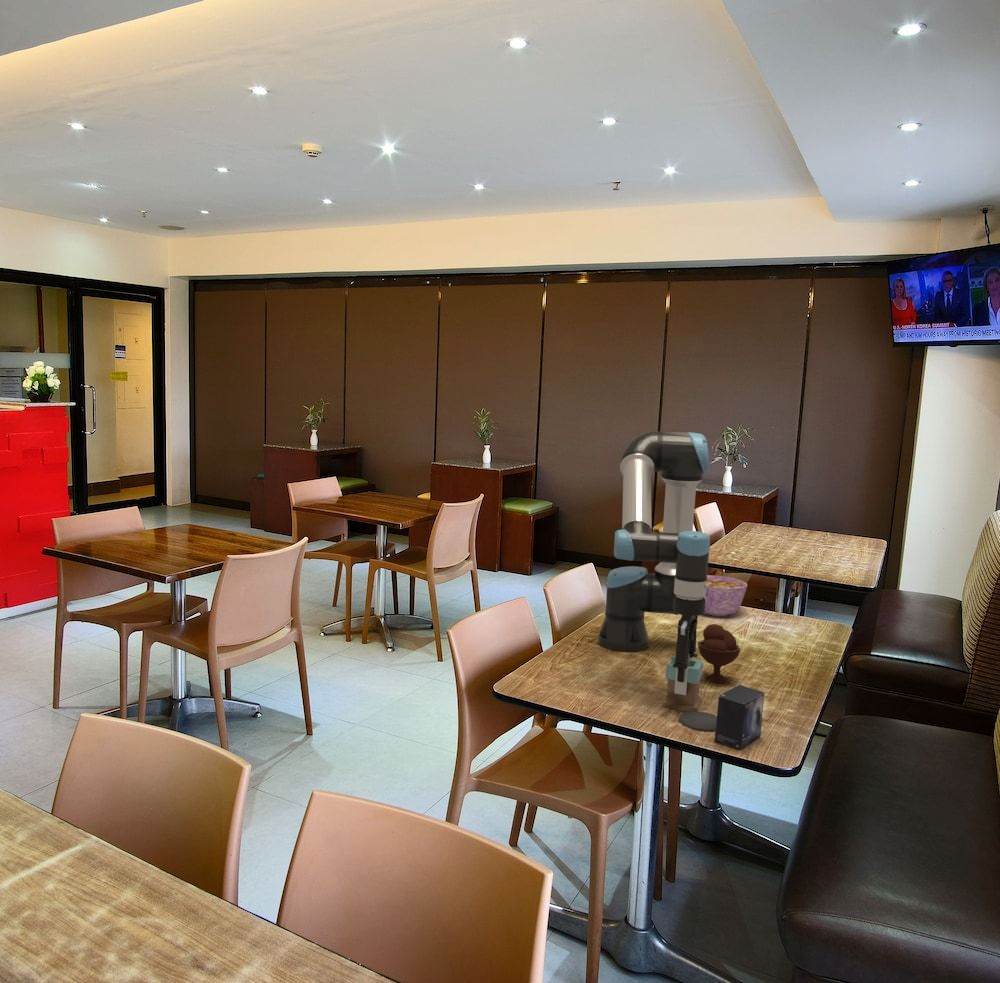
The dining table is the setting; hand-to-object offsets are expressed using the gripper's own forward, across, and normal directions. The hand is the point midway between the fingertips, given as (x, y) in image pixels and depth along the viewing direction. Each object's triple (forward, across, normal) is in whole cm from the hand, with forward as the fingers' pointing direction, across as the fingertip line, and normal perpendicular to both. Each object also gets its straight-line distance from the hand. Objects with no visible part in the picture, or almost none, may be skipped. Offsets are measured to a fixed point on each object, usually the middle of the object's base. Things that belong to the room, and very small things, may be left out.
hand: (683, 688), depth 191 cm
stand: (+4, 0, 0) cm, 4 cm away
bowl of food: (+4, +92, +5) cm, 92 cm away
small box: (+4, -14, -15) cm, 21 cm away
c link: (-3, 0, 0) cm, 3 cm away
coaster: (+4, -9, -6) cm, 12 cm away
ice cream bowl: (+4, +22, -5) cm, 23 cm away
